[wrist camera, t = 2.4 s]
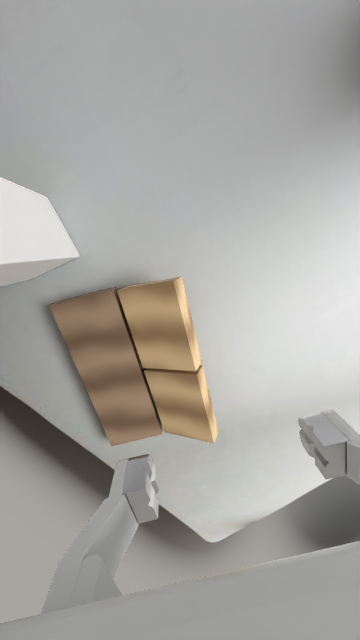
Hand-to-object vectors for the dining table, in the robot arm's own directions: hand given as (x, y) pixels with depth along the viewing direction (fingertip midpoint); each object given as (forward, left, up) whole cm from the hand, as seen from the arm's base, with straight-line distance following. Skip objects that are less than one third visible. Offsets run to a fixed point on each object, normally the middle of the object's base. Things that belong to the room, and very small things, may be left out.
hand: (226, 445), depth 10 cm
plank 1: (0, -3, -19) cm, 19 cm away
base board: (+5, -12, -21) cm, 25 cm away
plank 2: (+11, -3, -19) cm, 22 cm away
